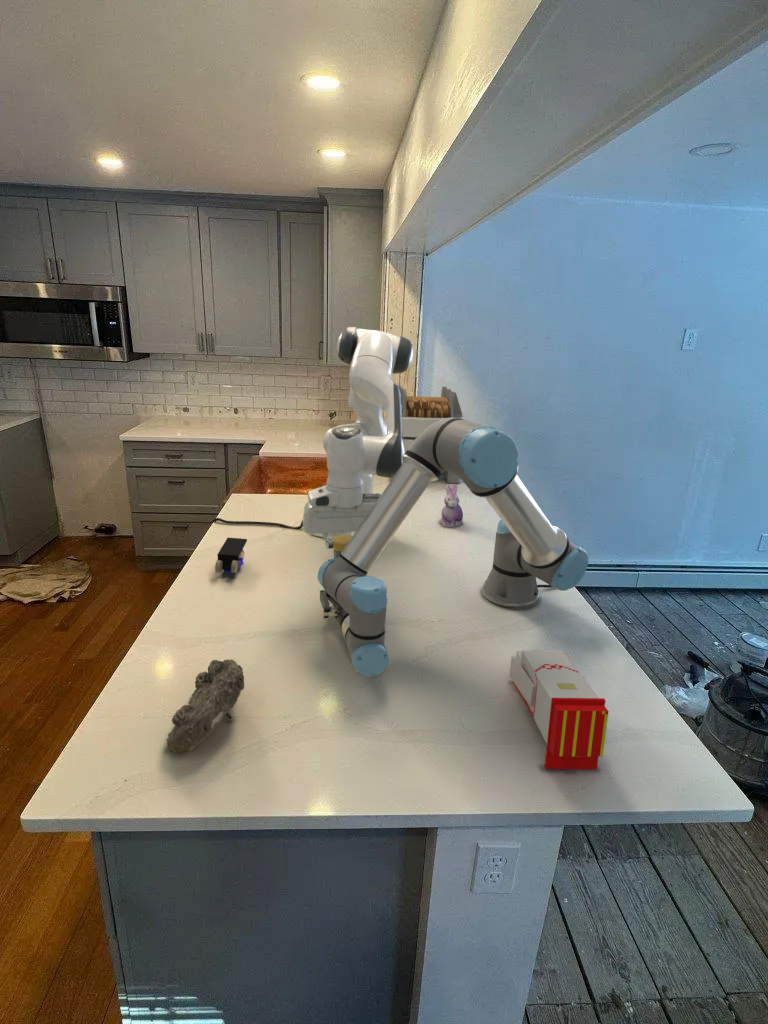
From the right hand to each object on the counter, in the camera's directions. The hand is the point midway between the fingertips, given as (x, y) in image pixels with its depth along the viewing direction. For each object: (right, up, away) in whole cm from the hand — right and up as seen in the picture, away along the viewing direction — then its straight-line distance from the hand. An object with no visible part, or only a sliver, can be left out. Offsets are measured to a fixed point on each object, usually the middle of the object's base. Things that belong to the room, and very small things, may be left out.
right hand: (339, 579), depth 150 cm
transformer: (+29, +37, +125) cm, 133 cm away
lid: (+2, +11, -9) cm, 14 cm away
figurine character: (-33, +1, +17) cm, 37 cm away
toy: (+44, -23, -38) cm, 63 cm away
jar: (+1, -8, -3) cm, 8 cm away
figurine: (+37, +14, +61) cm, 73 cm away
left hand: (+2, +9, -9) cm, 13 cm away
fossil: (-21, -21, -42) cm, 52 cm away
